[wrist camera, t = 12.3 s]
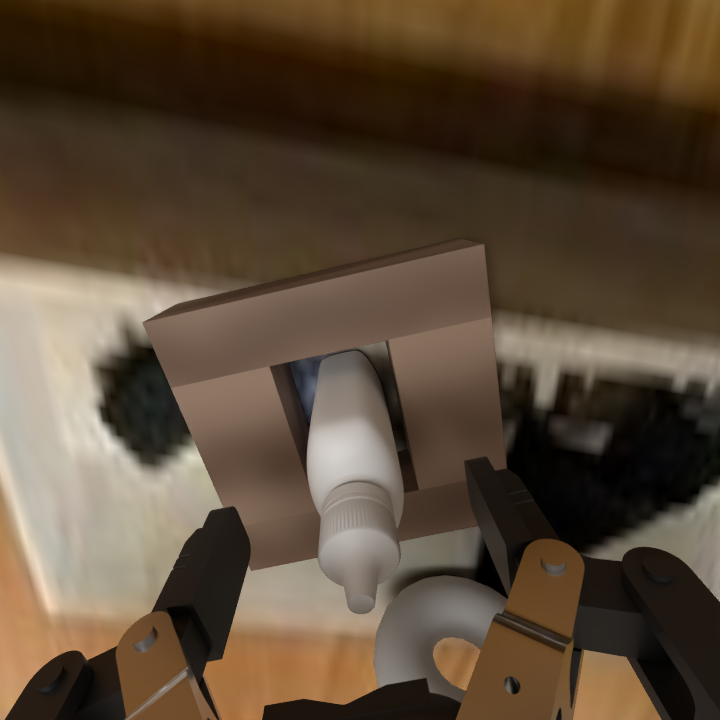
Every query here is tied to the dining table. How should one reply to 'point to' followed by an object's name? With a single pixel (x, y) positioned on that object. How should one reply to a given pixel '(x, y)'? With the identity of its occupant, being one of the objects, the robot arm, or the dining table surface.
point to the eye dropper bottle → (354, 478)
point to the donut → (432, 628)
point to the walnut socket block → (326, 335)
